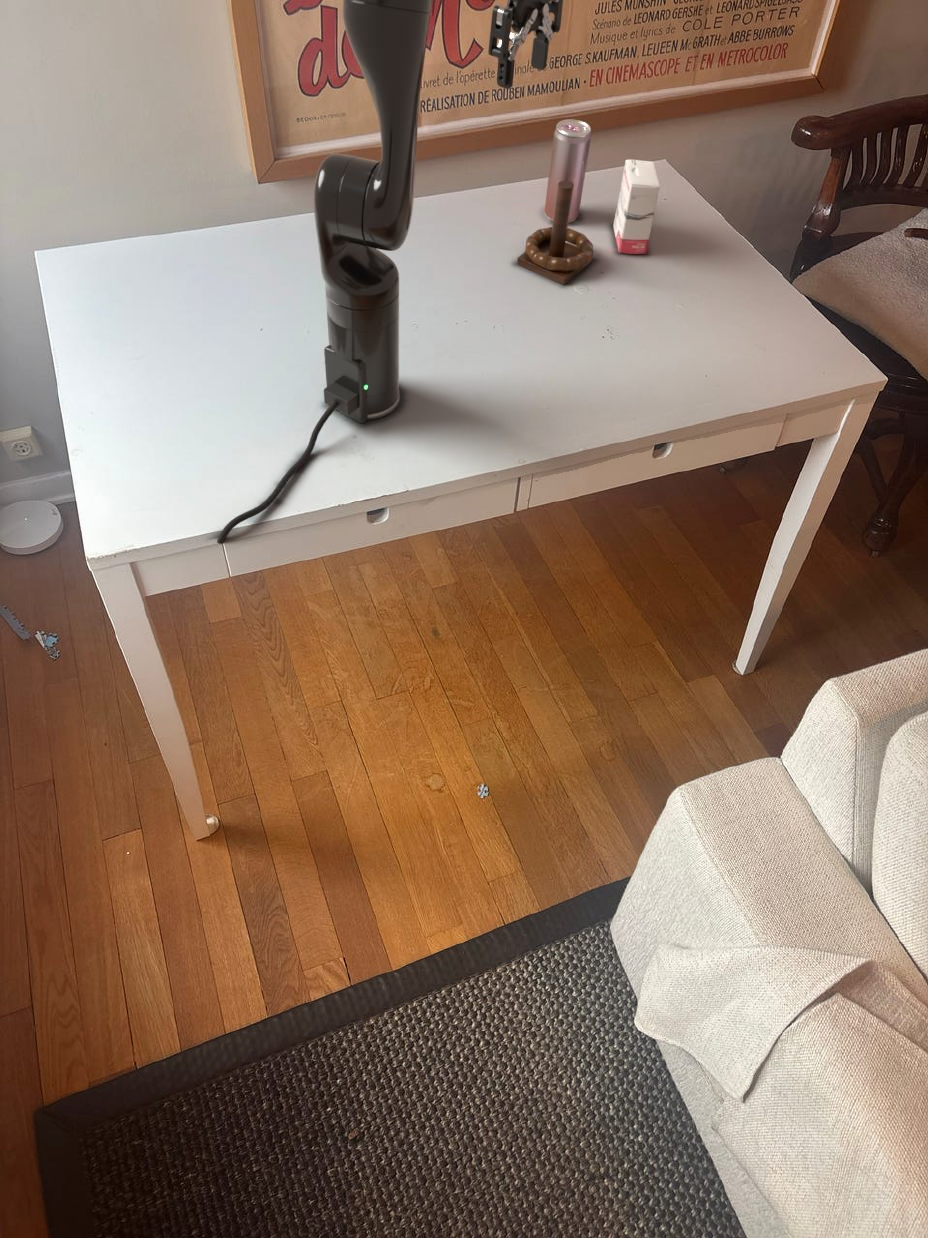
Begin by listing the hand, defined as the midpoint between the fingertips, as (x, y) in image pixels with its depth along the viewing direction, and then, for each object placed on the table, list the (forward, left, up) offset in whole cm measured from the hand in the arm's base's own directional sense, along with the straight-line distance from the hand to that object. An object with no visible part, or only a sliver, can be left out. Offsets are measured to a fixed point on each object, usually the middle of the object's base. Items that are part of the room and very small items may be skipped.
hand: (521, 77), depth 138 cm
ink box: (+16, -14, -27) cm, 35 cm away
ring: (+3, -8, -25) cm, 26 cm away
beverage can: (+15, -1, -27) cm, 31 cm away
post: (+2, -8, -27) cm, 28 cm away
